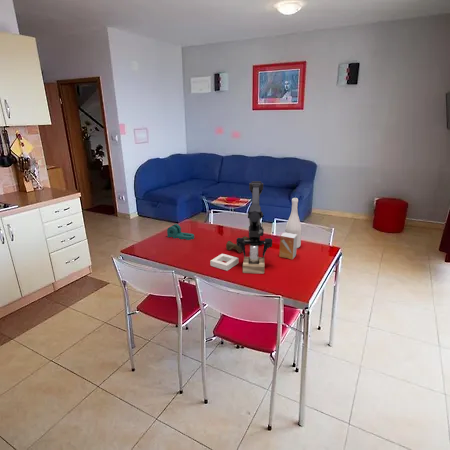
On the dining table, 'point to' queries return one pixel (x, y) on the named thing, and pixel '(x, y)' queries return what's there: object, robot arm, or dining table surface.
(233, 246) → the brown bone-shaped piece
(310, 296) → the dining table surface
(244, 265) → the socket block
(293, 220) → the wine bottle
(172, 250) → the dining table surface
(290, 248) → the small box
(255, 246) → the grey peg
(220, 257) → the white square frame
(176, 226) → the bracket
